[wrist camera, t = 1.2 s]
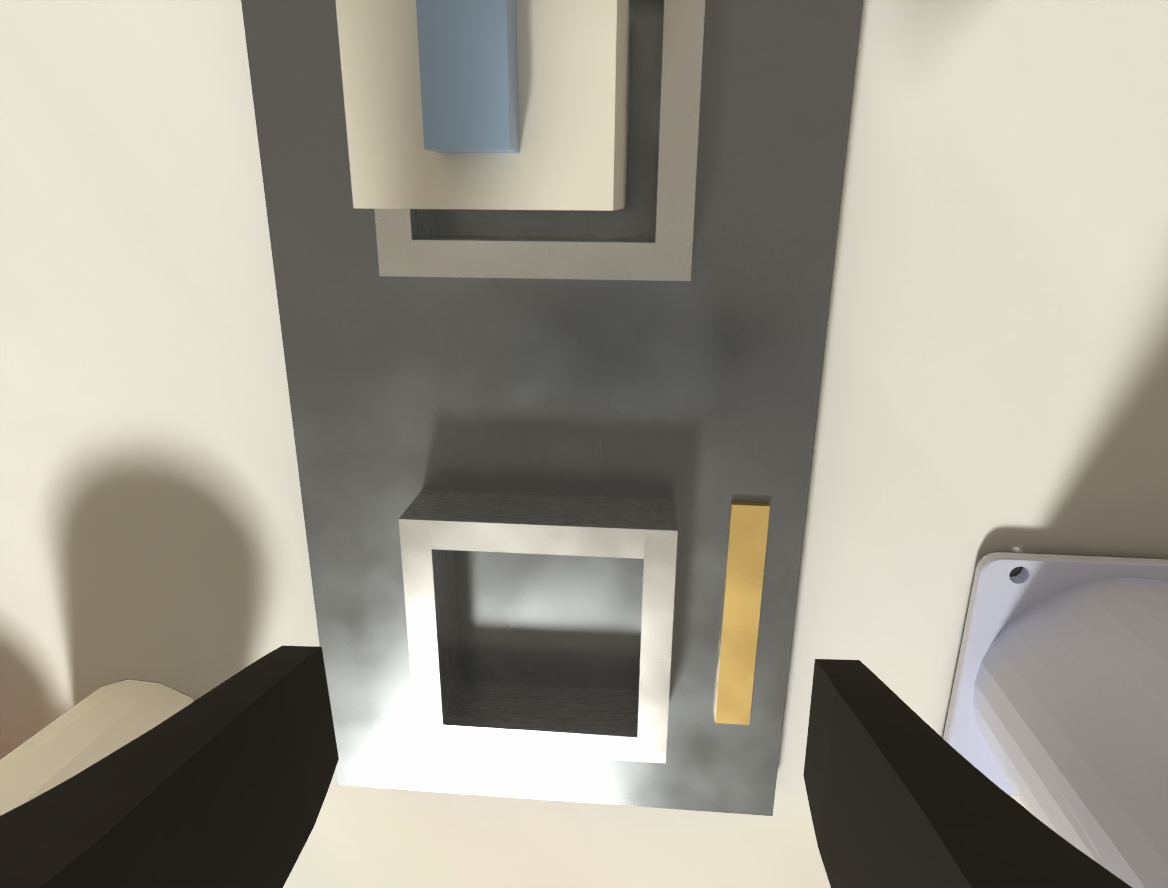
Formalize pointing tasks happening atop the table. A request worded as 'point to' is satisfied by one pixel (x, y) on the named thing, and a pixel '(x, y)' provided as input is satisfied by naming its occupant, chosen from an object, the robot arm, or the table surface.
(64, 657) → the table surface
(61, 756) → the white cylinder
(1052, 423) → the table surface
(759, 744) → the panel
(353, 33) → the plug
